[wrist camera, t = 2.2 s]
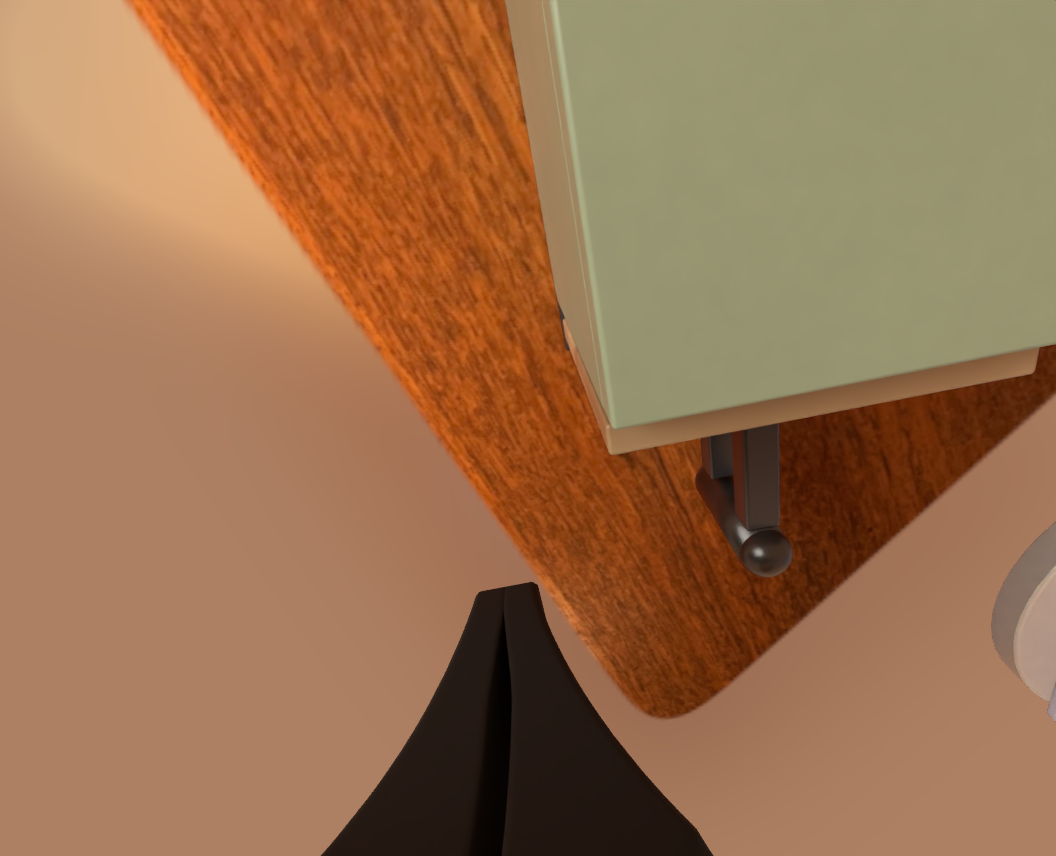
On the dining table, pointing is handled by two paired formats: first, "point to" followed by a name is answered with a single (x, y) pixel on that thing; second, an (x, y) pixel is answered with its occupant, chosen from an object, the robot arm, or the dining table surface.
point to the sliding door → (776, 444)
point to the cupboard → (790, 189)
